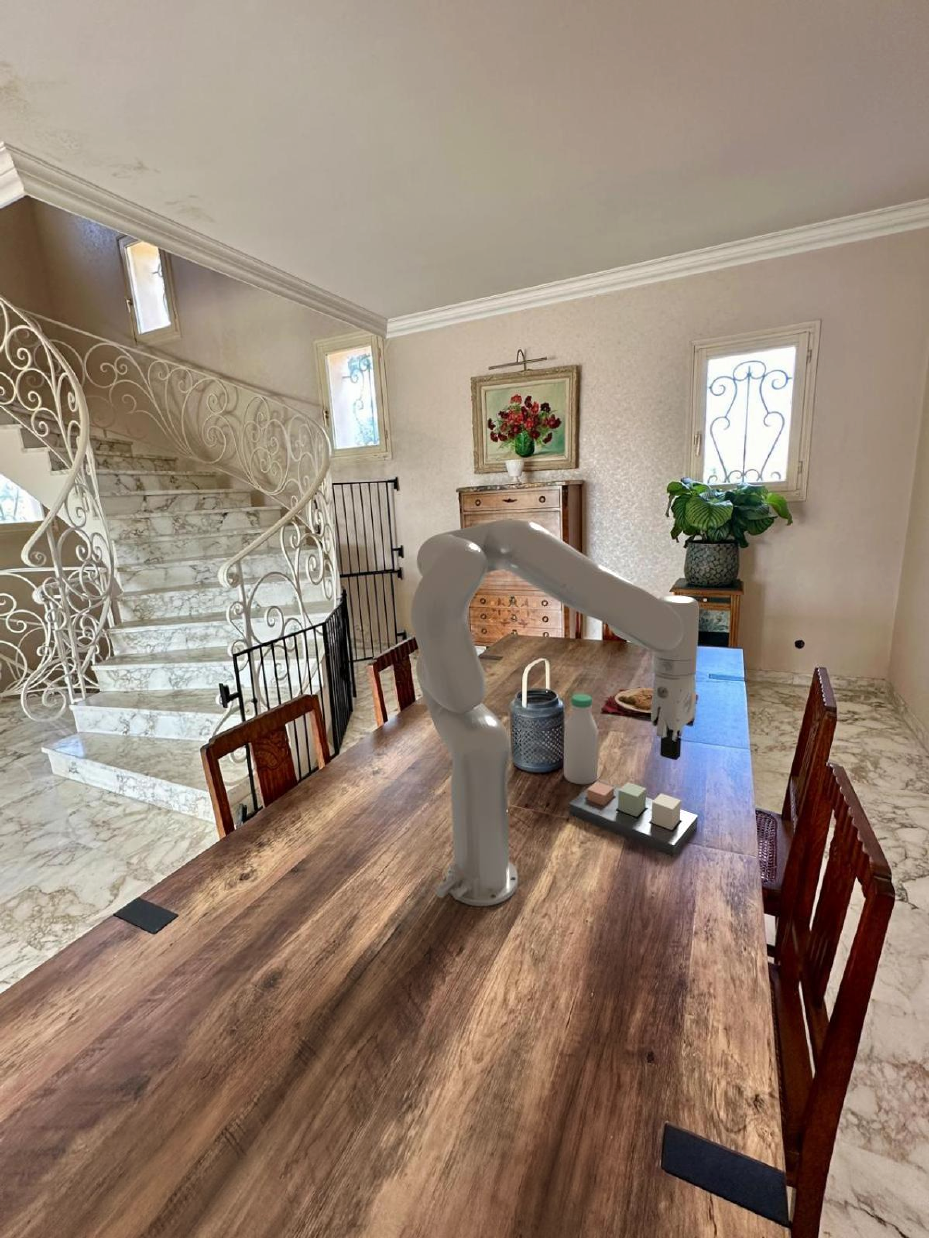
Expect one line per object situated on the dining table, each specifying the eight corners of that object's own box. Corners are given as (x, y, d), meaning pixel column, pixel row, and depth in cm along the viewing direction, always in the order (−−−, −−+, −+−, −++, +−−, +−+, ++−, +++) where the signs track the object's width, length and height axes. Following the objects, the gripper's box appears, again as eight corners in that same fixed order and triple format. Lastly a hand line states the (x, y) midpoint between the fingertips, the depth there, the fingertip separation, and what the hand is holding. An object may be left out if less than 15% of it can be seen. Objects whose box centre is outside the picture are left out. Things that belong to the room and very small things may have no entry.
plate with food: (692, 727, 157) (693, 716, 156) (600, 713, 168) (601, 702, 167) (698, 699, 178) (699, 689, 177) (616, 687, 189) (616, 678, 188)
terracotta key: (604, 814, 116) (604, 795, 115) (587, 807, 118) (587, 789, 117) (613, 806, 119) (613, 787, 118) (596, 799, 121) (596, 781, 120)
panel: (672, 857, 103) (673, 844, 102) (568, 814, 117) (568, 803, 116) (696, 827, 111) (697, 815, 111) (597, 790, 126) (597, 780, 125)
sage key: (636, 816, 111) (637, 796, 110) (617, 809, 113) (618, 790, 112) (645, 807, 114) (646, 788, 113) (626, 801, 116) (627, 781, 115)
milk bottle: (597, 786, 127) (599, 704, 123) (563, 784, 129) (563, 702, 124) (596, 770, 135) (598, 691, 130) (564, 767, 136) (564, 690, 132)
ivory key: (671, 829, 106) (672, 809, 105) (651, 822, 109) (652, 801, 108) (679, 820, 109) (681, 800, 108) (659, 813, 112) (660, 793, 111)
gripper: (678, 680, 94) (674, 779, 98) (709, 657, 104) (704, 747, 109) (636, 671, 99) (633, 766, 103) (670, 650, 109) (666, 737, 114)
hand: (670, 756), depth 106 cm, fingers closed
